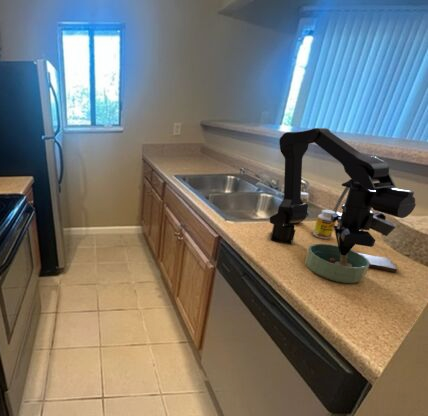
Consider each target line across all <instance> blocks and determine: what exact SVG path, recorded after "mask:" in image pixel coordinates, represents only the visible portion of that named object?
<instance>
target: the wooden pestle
mask: <svg viewBox="0 0 428 416" xmlns="http://www.w3.org/2000/svg"><path fill="white" fill-rule="evenodd" d="M347 255H348V253H347ZM347 255H341V253H340V262H335V264H337V265H342V266H347V267H352V265H351V264H349V263H347Z"/></svg>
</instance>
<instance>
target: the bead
mask: <svg viewBox="0 0 428 416" xmlns="http://www.w3.org/2000/svg"><path fill="white" fill-rule="evenodd" d="M328 262H331V263H335V262H336V260H335V259H334V258H329V259H328Z"/></svg>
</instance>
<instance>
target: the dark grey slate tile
mask: <svg viewBox="0 0 428 416" xmlns="http://www.w3.org/2000/svg"><path fill="white" fill-rule="evenodd" d="M358 253H359V254H361V255H363V256H364V257H365V258H367V259H368V261H369V262H370V265H369V268H372V269H376V270H381V271H386V272H391V273H397V271H398V268H397V266H395V264H394V263H393V262H392V261H391V259H390V258H389V257H384V256H377V255H372V254H367V253H362V252H358Z"/></svg>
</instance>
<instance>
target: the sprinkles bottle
mask: <svg viewBox="0 0 428 416" xmlns="http://www.w3.org/2000/svg"><path fill="white" fill-rule="evenodd" d="M309 196H310V194H309V193H308V192H305V191H301V200H302V202H303V203H304V204H307V201H308V199H309ZM299 225H302V222H301V223H300V224H299Z"/></svg>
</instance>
